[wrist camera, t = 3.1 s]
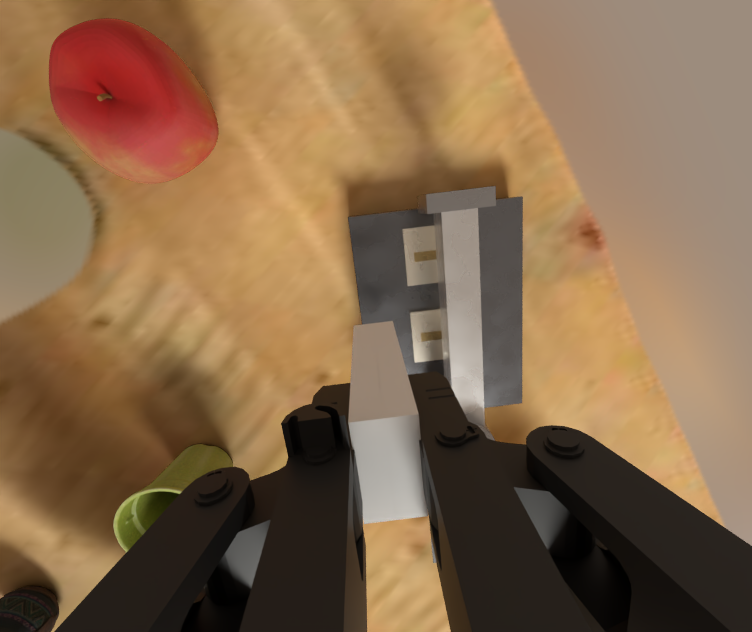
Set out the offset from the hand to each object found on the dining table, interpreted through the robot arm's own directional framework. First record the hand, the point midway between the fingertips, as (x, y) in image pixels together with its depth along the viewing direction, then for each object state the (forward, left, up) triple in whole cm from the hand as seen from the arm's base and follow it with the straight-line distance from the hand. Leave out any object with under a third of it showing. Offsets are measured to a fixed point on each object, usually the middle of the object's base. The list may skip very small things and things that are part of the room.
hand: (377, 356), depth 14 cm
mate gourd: (-46, -36, -22) cm, 62 cm away
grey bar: (+6, -5, -16) cm, 17 cm away
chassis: (+6, -5, -22) cm, 23 cm away
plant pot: (-21, -20, -22) cm, 36 cm away
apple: (-15, +14, -22) cm, 30 cm away
